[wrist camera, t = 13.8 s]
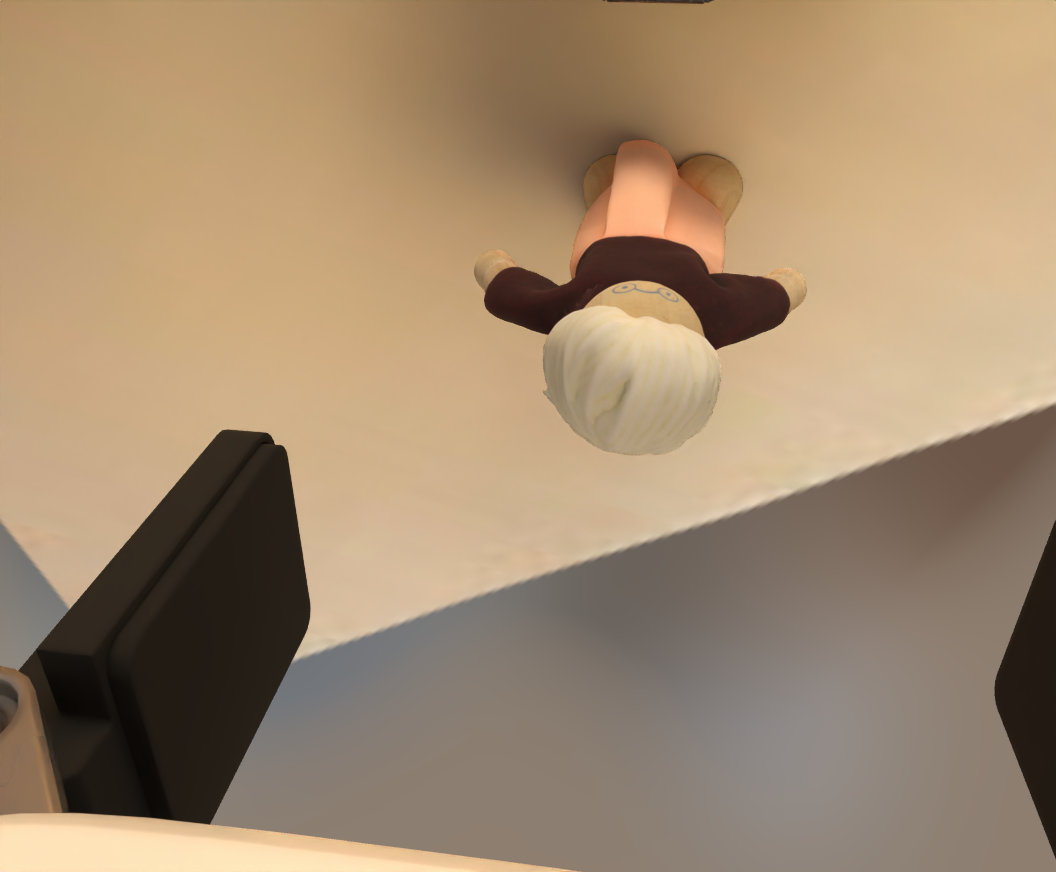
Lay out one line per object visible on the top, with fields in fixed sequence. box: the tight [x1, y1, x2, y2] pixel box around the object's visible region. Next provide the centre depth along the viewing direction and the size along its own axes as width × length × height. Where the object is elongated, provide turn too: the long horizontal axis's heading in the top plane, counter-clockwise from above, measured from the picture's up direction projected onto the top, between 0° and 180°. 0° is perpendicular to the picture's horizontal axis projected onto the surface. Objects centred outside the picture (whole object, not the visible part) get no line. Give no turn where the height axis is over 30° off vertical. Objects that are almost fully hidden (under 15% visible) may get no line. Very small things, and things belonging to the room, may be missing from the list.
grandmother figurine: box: [474, 140, 807, 455], centre depth 21 cm, size 8×4×13 cm, turn 100°
